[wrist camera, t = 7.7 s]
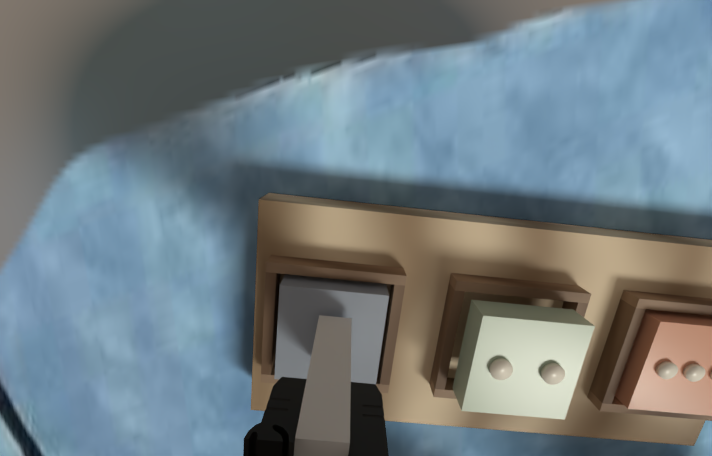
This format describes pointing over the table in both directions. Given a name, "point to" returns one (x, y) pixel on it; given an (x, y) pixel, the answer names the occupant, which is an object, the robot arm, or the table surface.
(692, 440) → the keypad board
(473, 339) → the key two dots
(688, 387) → the key three dots
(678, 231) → the table surface
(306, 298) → the key one dot
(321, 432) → the robot arm
